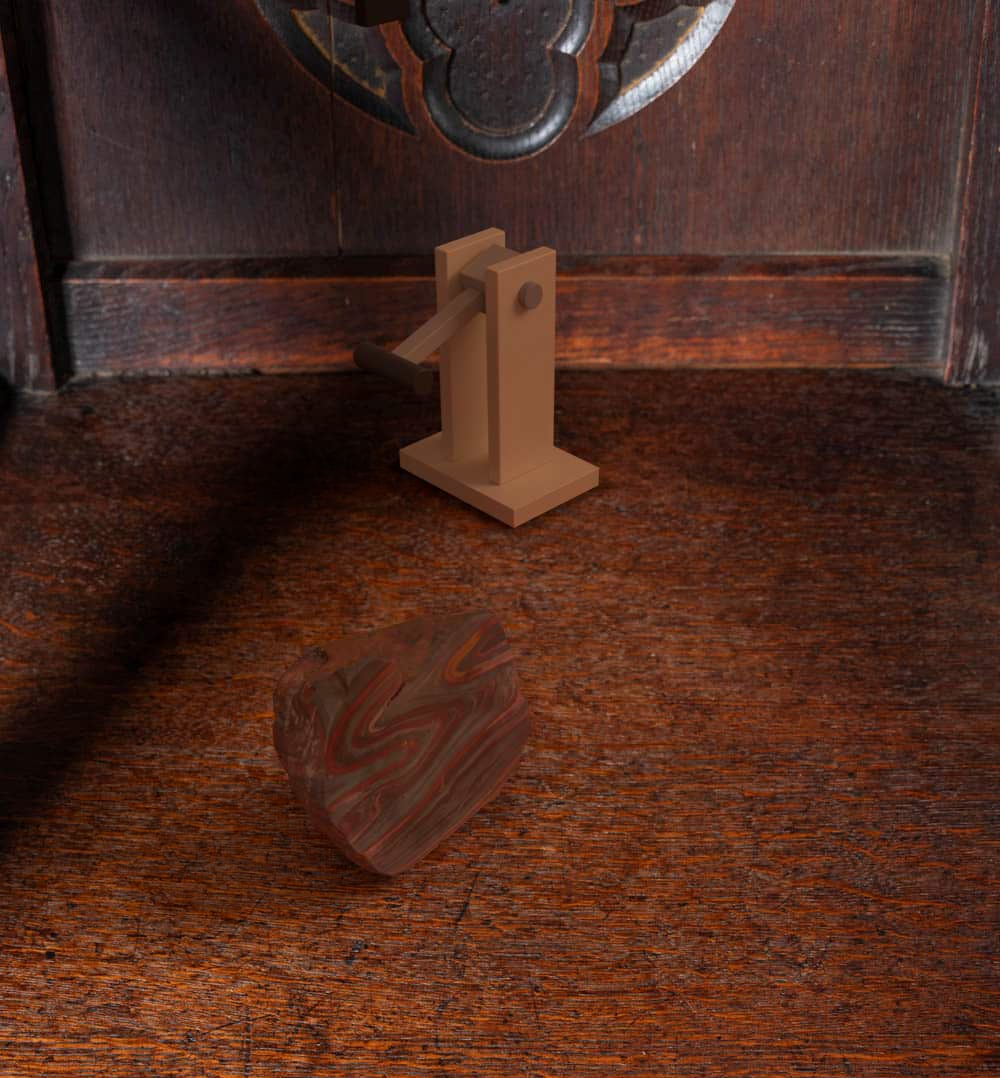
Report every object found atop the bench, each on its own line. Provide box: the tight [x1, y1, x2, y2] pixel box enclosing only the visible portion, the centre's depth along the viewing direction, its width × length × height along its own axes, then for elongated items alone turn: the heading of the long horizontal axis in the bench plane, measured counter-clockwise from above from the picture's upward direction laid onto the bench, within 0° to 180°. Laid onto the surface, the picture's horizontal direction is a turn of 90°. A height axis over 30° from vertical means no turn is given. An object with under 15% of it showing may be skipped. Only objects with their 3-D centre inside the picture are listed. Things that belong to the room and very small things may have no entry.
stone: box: [272, 608, 532, 877], centre depth 60 cm, size 13×8×10 cm
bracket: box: [398, 226, 600, 529], centre depth 82 cm, size 7×10×14 cm
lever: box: [352, 244, 522, 397], centre depth 78 cm, size 10×5×2 cm, turn 132°
